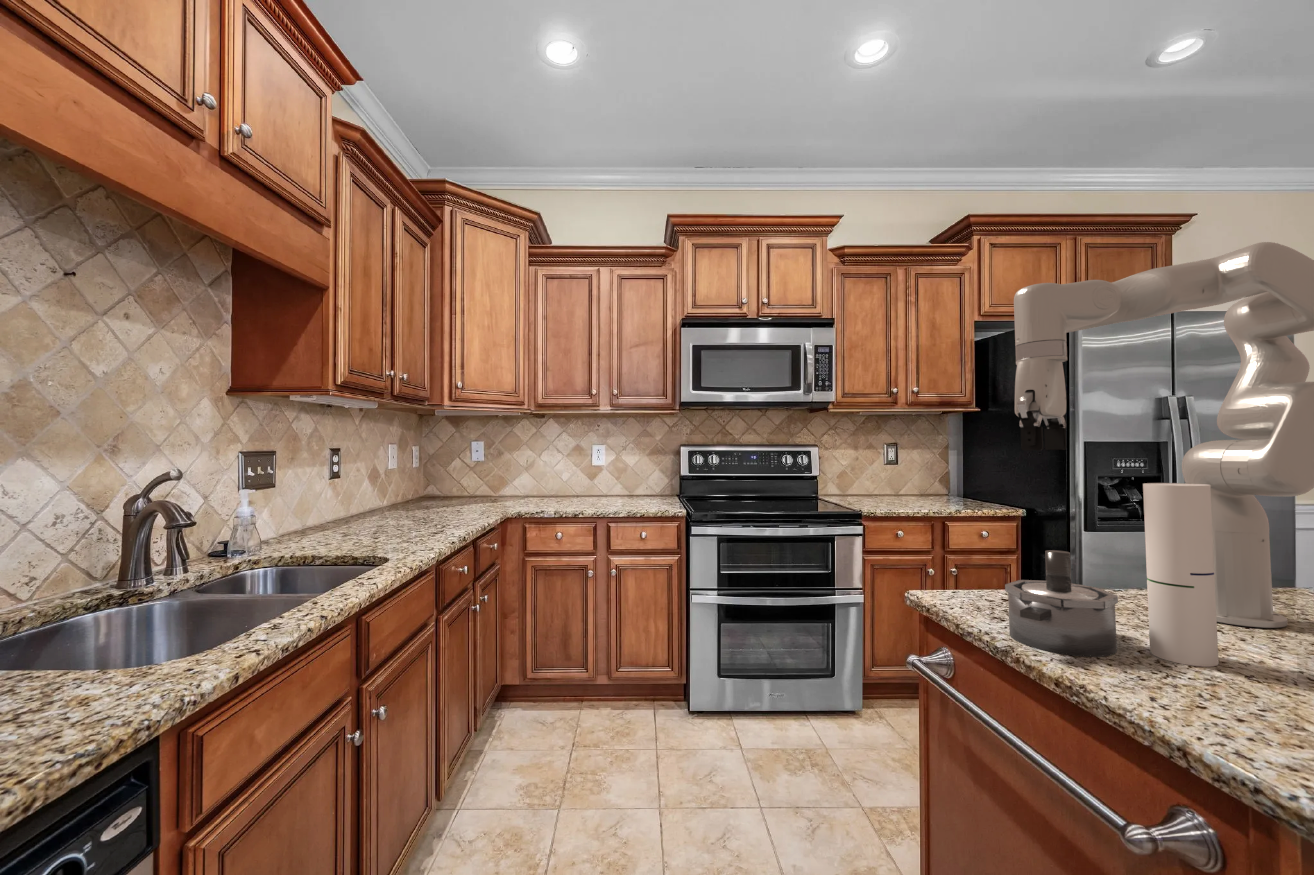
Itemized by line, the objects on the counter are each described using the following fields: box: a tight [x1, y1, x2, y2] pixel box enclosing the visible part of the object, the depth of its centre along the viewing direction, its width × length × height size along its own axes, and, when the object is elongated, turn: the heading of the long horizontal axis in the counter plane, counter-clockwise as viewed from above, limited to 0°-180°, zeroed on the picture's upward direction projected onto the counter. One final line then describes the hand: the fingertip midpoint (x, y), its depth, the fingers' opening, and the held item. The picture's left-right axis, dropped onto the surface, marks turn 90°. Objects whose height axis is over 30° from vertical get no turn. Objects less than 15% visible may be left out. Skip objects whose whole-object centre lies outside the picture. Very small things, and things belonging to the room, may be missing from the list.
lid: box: [1022, 549, 1099, 600], centre depth 87 cm, size 10×10×7 cm
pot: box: [1004, 579, 1119, 658], centre depth 86 cm, size 21×14×8 cm, turn 124°
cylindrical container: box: [1142, 482, 1220, 668], centre depth 79 cm, size 7×7×25 cm
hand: (1044, 450), depth 97 cm, fingers open, 9 cm apart
